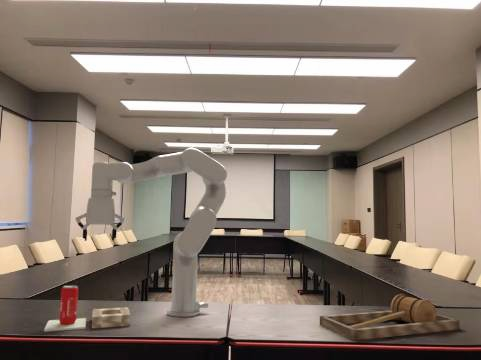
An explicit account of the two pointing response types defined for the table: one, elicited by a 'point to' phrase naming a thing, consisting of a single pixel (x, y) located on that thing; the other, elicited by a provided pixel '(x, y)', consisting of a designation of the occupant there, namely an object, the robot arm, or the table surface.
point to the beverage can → (68, 305)
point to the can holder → (110, 317)
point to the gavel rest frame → (338, 326)
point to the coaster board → (56, 326)
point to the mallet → (406, 311)
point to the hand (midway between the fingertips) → (99, 240)
